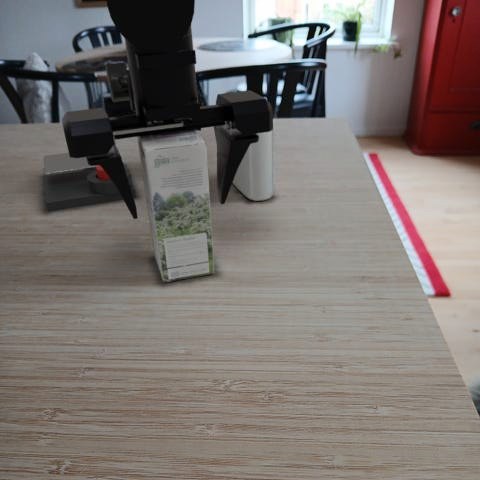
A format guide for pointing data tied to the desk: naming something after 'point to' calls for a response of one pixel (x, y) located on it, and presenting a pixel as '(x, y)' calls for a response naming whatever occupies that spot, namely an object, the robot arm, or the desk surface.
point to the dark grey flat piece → (80, 190)
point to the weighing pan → (64, 164)
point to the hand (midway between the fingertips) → (179, 209)
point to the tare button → (101, 173)
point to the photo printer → (257, 169)
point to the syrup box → (178, 203)
